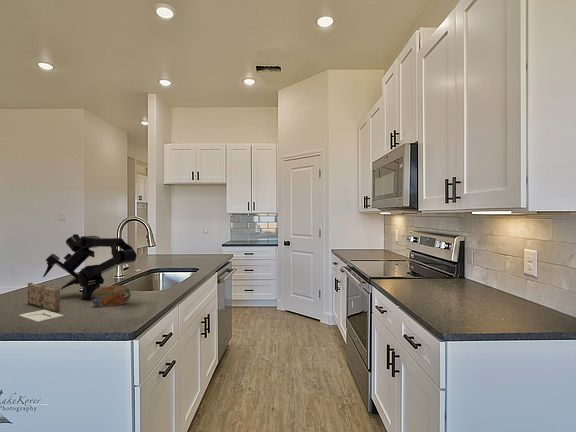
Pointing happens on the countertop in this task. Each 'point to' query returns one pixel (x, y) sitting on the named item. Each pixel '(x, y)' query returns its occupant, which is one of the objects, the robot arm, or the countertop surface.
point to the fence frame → (50, 298)
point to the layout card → (40, 315)
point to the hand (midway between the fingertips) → (52, 283)
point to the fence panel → (34, 294)
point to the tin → (110, 296)
